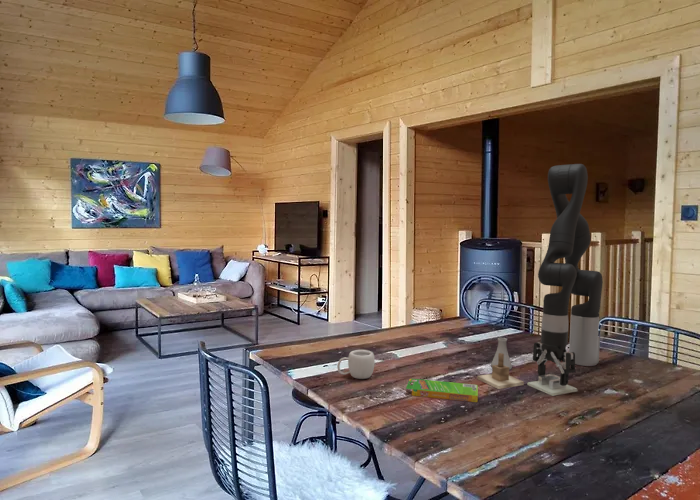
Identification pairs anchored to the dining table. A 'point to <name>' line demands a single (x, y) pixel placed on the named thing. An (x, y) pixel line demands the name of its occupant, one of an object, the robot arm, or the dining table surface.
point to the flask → (502, 349)
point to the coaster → (549, 391)
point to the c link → (550, 381)
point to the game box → (443, 390)
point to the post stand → (500, 376)
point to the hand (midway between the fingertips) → (552, 380)
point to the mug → (359, 364)
